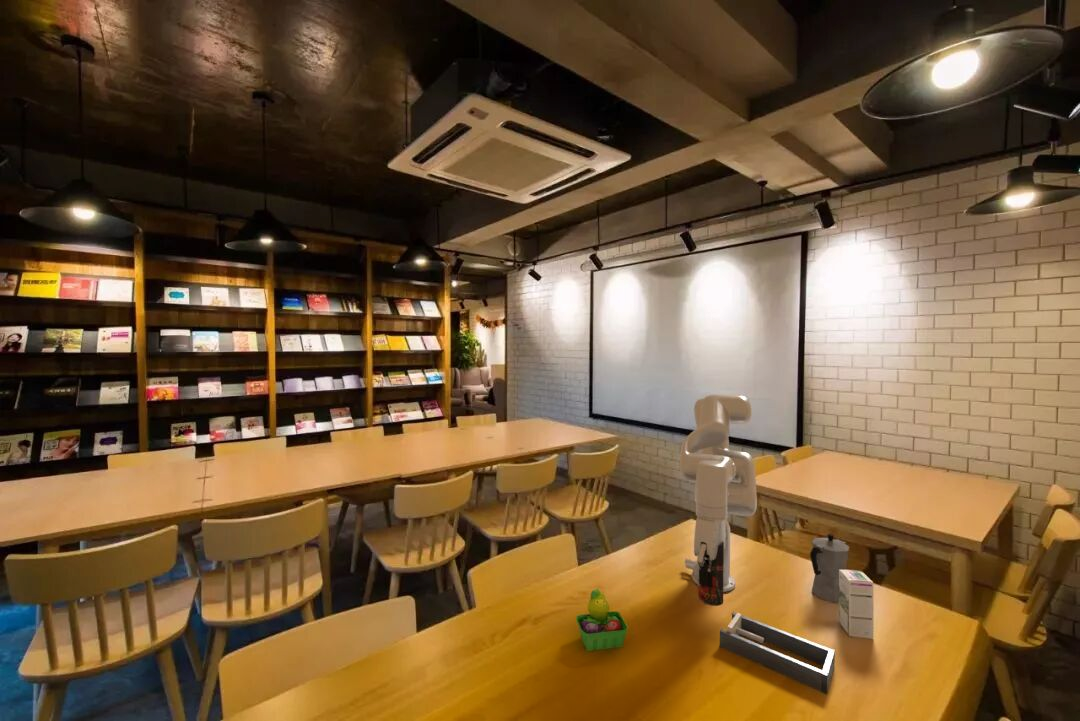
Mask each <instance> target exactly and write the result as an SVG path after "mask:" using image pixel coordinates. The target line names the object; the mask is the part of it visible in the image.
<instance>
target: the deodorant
mask: <svg viewBox="0 0 1080 721" xmlns="http://www.w3.org/2000/svg"><path fill="white" fill-rule="evenodd" d="M705 557H707V558H710V556H709V555H707V554H706V556H705ZM705 563H707V564H708V563H709V561H708V560H705ZM711 571H713V587H712V588H710V587H707V586H704V585H701V584H700V583H699V586H698V593H697V594H698V595H697V596H698V600H699V601H700V602H701V603H703V604H704V605H708V606H713V607H718V606H721V605H723V604H724V592H723V582H724V542H722V543H721V544H720V545H719V546H718V550H717V556H716V558H715V559H714V560H713V562H712V569H711Z"/></svg>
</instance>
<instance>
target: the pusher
mask: <svg viewBox="0 0 1080 721" xmlns="http://www.w3.org/2000/svg"><path fill="white" fill-rule="evenodd" d="M736 613H737V614H736V615H735V617H734V618H733V619H732V618H731V621H730V622H729V624H728V625H727V630H726V631H728V632H730V633H733V634H735V635H738V636H742V637H743V636H744V637H746V638H748V639H751V640H754V641H756V642H758V643H760V644H764V643H765V642H764V638H763V637H760V636H758V635H755V634H753V633H750V632H748V631H745V630H743V629H741V617H742V613H739V612H736Z"/></svg>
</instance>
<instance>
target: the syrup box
mask: <svg viewBox="0 0 1080 721" xmlns="http://www.w3.org/2000/svg"><path fill="white" fill-rule="evenodd" d="M874 607H875V606H874V582H873V580H871V579H870V577H868V576H867V575H866V574H865V573H864V572H863V571H862V570H855V569H845V570H840V569H839V603H838V623H839V625H840V626H841V627H842V628H843V630H844V631H845V633H846V634H847V635H848V636H849V637H854V638H859V639H860V638H861V639H868V640H869V639H870V640H874V628H875V627H874V617H875V616H874V609H875V608H874Z"/></svg>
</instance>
